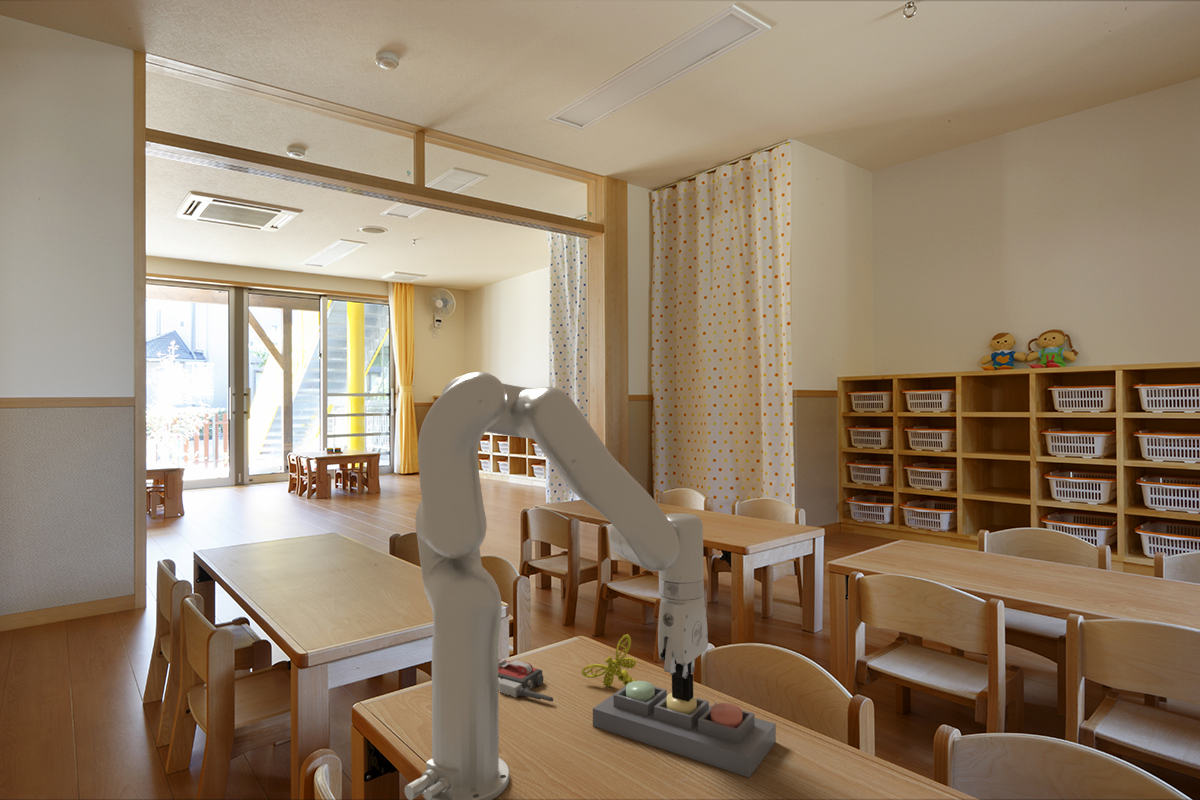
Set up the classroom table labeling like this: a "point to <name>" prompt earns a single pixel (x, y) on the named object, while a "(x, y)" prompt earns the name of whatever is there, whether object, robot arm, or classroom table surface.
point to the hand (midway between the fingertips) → (682, 697)
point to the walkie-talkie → (519, 679)
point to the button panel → (688, 731)
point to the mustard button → (681, 704)
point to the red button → (726, 714)
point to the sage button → (640, 690)
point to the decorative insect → (610, 668)
